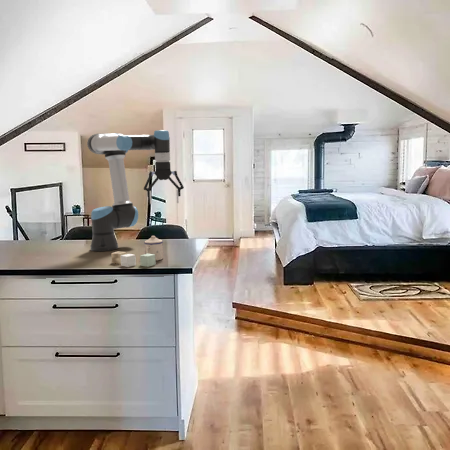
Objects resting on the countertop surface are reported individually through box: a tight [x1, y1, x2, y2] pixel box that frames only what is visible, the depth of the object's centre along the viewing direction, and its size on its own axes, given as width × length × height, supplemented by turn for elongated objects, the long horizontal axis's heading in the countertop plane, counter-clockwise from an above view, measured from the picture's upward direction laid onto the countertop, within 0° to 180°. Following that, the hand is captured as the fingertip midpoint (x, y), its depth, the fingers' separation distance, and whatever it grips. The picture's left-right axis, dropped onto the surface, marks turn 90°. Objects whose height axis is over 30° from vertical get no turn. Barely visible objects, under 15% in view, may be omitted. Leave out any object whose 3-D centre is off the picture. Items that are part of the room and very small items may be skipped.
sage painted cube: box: [139, 253, 157, 268], centre depth 243 cm, size 5×5×5 cm
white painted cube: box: [120, 253, 137, 268], centre depth 244 cm, size 5×5×5 cm
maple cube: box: [110, 251, 127, 265], centre depth 251 cm, size 5×5×5 cm
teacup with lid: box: [144, 235, 164, 261], centre depth 254 cm, size 12×9×12 cm
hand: (164, 203), depth 263 cm, fingers open, 13 cm apart
